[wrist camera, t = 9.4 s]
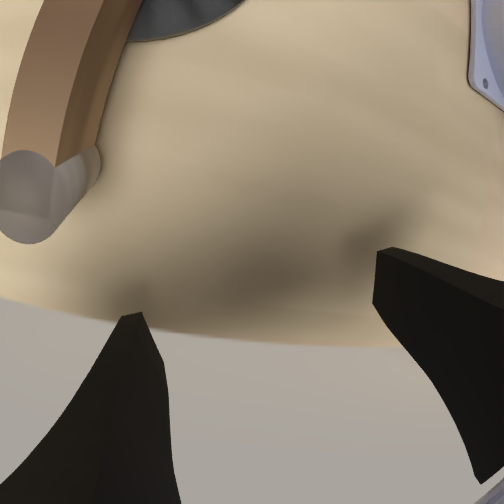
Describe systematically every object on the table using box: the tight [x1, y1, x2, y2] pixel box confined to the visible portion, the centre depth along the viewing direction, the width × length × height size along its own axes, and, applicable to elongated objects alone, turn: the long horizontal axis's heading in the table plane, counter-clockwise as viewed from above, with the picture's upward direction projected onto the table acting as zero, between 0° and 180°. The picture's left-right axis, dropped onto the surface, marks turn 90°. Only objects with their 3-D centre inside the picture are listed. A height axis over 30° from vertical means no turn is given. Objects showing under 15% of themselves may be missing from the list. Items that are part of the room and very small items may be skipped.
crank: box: [0, 0, 143, 244], centre depth 5 cm, size 9×2×3 cm, turn 161°
